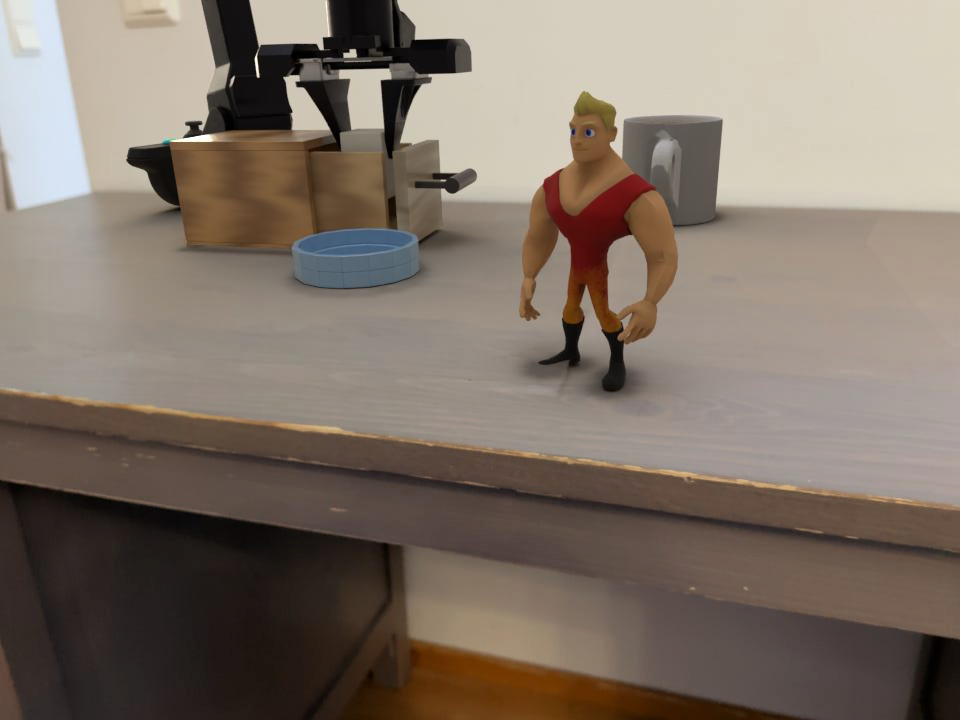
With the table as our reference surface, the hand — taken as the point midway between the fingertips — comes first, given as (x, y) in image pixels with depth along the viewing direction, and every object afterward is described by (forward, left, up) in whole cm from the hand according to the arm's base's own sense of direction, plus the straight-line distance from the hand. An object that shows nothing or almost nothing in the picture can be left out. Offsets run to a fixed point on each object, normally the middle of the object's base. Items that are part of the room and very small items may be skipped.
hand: (370, 158), depth 73 cm
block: (0, 0, -4) cm, 4 cm away
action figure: (+29, +24, -8) cm, 39 cm away
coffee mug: (-15, +26, -8) cm, 31 cm away
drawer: (0, +1, -7) cm, 7 cm away
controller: (-15, -32, -8) cm, 36 cm away
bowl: (+12, +3, -8) cm, 15 cm away
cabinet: (0, -11, -8) cm, 13 cm away
